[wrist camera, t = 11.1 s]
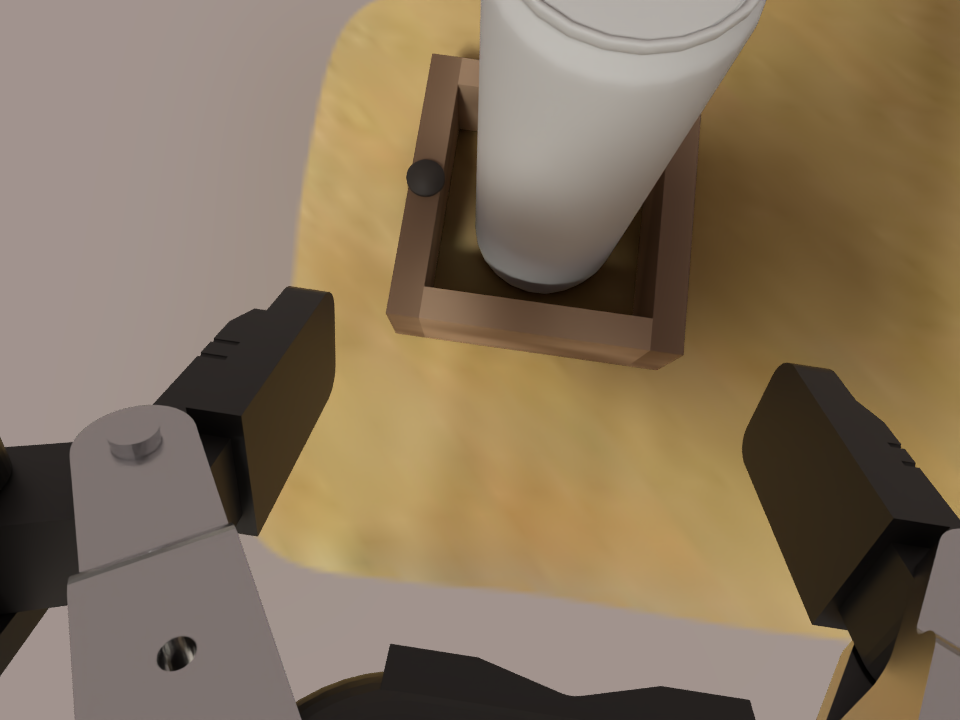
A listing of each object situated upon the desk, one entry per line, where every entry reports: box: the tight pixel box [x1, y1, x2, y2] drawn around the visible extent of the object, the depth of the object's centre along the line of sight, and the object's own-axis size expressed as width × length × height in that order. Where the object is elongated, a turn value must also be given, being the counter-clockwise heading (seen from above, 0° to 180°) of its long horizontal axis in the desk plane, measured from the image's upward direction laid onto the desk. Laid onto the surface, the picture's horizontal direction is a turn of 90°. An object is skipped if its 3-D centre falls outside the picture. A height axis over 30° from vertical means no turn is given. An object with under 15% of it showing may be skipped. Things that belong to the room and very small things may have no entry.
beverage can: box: [475, 0, 766, 294], centre depth 15 cm, size 5×5×12 cm
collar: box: [386, 54, 701, 370], centre depth 19 cm, size 9×9×3 cm
